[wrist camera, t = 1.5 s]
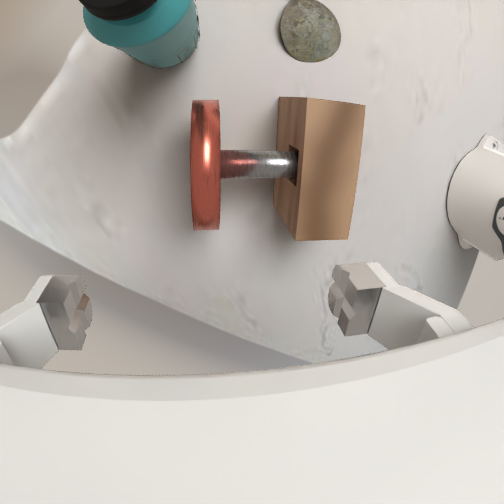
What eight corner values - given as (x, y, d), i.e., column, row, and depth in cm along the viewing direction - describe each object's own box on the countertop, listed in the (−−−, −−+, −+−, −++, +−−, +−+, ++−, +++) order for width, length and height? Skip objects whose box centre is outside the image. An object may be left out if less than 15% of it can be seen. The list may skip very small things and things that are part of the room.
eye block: (324, 100, 30) (365, 105, 22) (315, 204, 36) (347, 239, 28) (279, 96, 29) (307, 97, 21) (273, 204, 35) (295, 240, 27)
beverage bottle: (211, 49, 26) (225, -20, 9) (154, 83, 27) (80, 66, 9) (181, 2, 23) (156, -103, 6) (124, 36, 24) (28, -25, 6)
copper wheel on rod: (318, 104, 29) (370, 112, 20) (310, 203, 34) (351, 248, 25) (195, 99, 27) (190, 100, 18) (196, 204, 33) (193, 254, 23)
